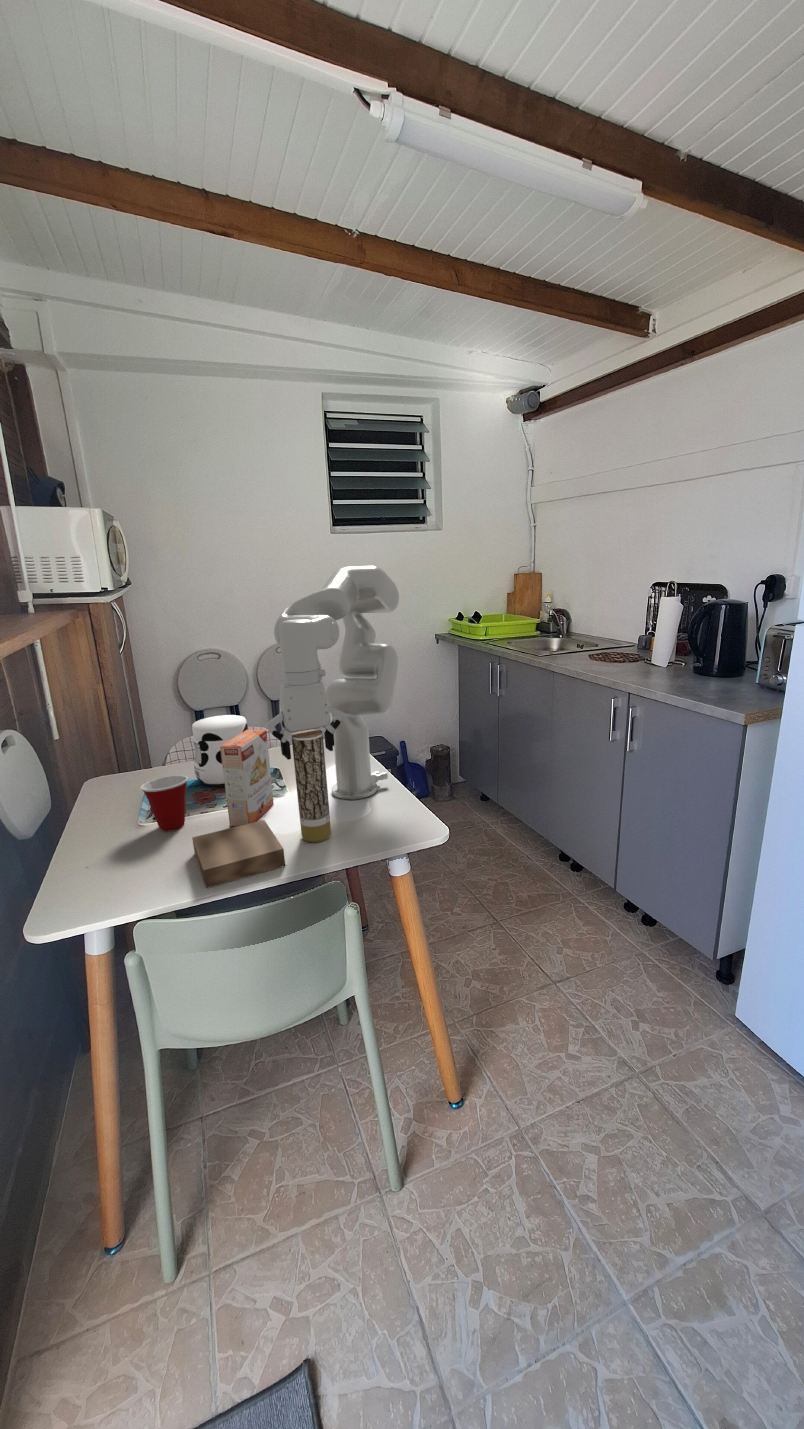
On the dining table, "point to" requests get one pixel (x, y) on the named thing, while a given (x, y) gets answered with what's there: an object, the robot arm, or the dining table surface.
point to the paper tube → (311, 784)
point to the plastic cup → (167, 800)
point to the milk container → (214, 745)
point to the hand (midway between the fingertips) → (308, 753)
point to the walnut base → (237, 853)
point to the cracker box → (247, 776)
